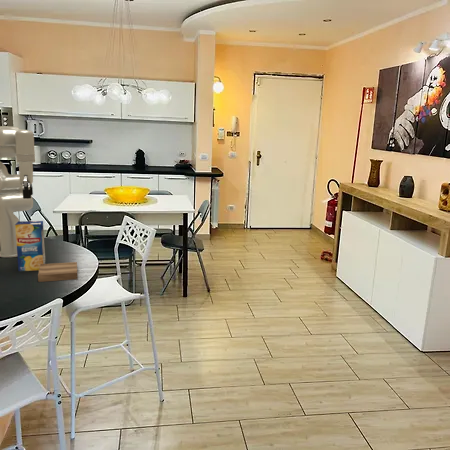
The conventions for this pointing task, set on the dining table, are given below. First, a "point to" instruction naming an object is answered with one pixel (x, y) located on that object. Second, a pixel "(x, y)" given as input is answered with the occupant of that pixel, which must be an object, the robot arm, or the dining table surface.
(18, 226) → the beverage box
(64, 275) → the walnut base
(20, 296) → the dining table surface
